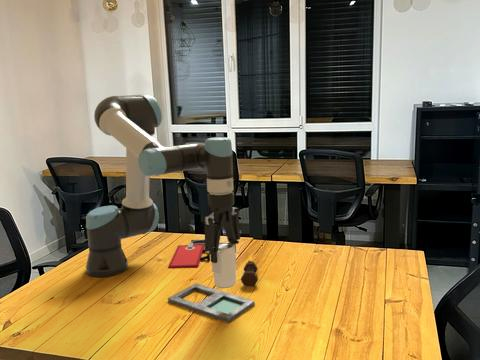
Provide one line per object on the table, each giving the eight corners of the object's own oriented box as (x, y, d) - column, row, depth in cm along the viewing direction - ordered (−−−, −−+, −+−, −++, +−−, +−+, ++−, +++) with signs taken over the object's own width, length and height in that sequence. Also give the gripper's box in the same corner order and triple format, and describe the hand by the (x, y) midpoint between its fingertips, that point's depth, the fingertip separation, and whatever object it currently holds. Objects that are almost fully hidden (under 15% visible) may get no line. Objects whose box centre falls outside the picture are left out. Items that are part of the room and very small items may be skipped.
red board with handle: (214, 241, 195) (181, 242, 196) (214, 235, 195) (180, 236, 195) (208, 268, 166) (168, 270, 167) (207, 261, 165) (167, 263, 166)
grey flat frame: (168, 301, 139) (167, 298, 139) (196, 286, 149) (195, 283, 149) (228, 322, 125) (228, 318, 125) (254, 304, 135) (254, 300, 135)
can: (239, 280, 134) (237, 242, 132) (231, 289, 128) (229, 250, 126) (219, 278, 136) (217, 241, 134) (211, 287, 130) (208, 248, 128)
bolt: (253, 274, 163) (251, 290, 148) (241, 267, 163) (238, 283, 148) (260, 261, 162) (260, 276, 147) (248, 254, 162) (246, 269, 147)
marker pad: (207, 310, 133) (207, 309, 133) (223, 299, 139) (223, 299, 139) (228, 317, 128) (228, 316, 128) (244, 306, 134) (244, 305, 134)
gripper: (208, 200, 117) (213, 282, 121) (250, 187, 132) (253, 260, 136) (187, 197, 121) (192, 276, 126) (231, 184, 136) (234, 256, 141)
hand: (224, 268), depth 131 cm, fingers closed on can, 6 cm apart
